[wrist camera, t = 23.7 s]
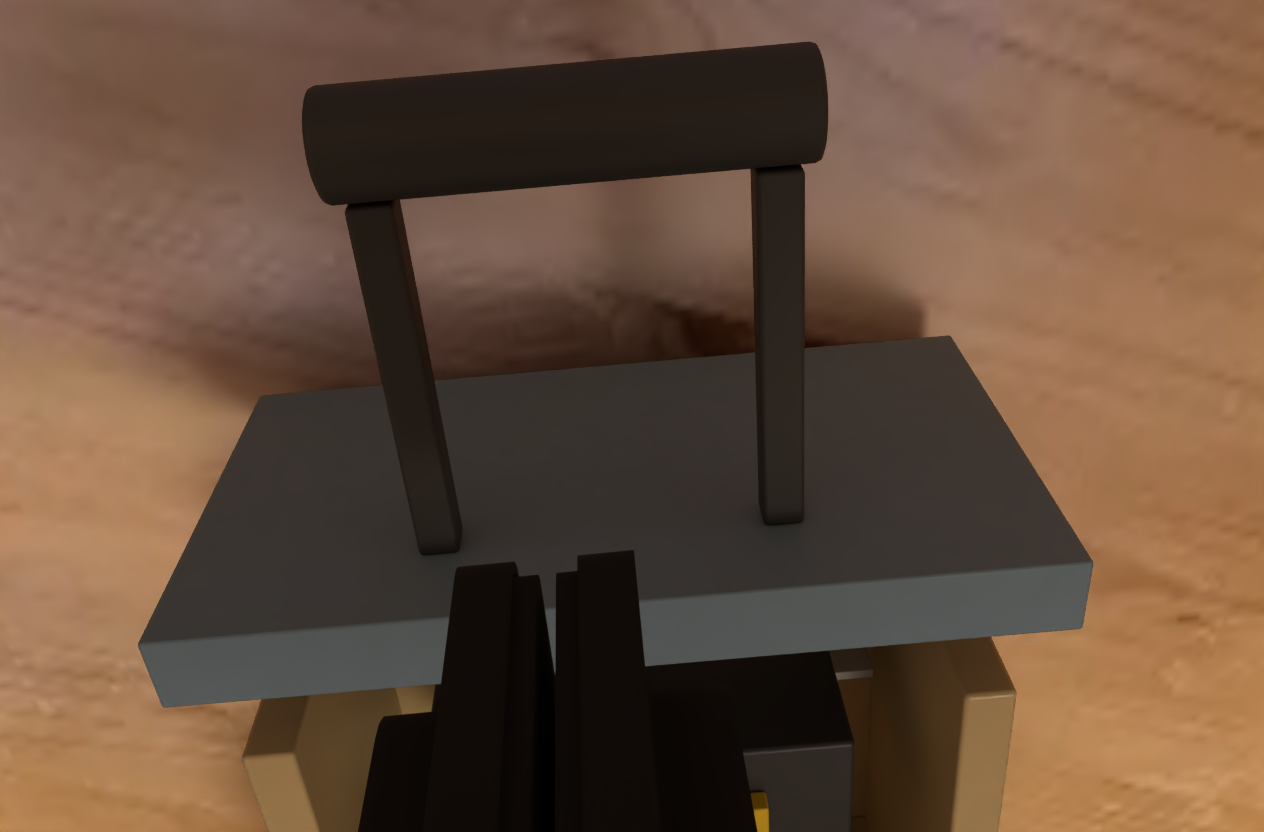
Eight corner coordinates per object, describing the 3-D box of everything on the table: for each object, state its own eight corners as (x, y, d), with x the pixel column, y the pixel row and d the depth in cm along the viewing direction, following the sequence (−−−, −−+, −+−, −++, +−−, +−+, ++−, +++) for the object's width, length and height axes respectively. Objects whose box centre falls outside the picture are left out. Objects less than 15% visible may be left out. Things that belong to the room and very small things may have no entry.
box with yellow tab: (445, 600, 22) (414, 794, 18) (859, 565, 22) (923, 751, 18) (468, 709, 24) (444, 911, 20) (855, 677, 24) (913, 873, 20)
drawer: (153, 22, 17) (-61, 158, 12) (980, -52, 17) (1181, 49, 12) (386, 839, 27) (333, 1136, 21) (915, 794, 27) (1007, 1079, 21)
